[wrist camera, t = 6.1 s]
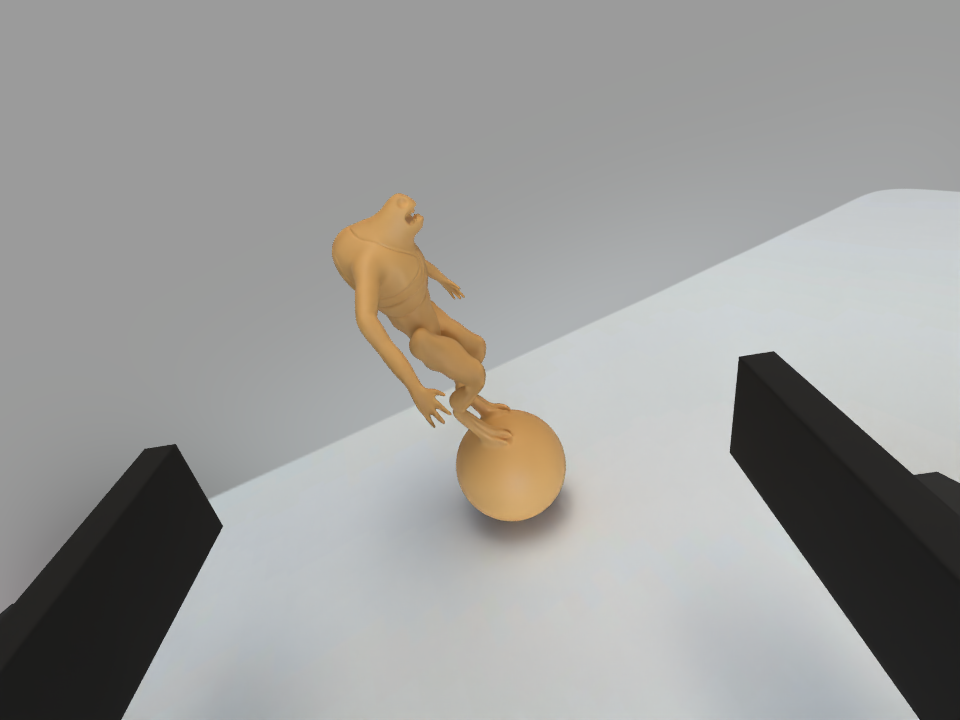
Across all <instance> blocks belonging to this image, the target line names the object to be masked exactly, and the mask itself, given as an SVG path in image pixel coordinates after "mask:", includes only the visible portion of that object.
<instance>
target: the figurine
mask: <svg viewBox="0 0 960 720" xmlns="http://www.w3.org/2000/svg"><path fill="white" fill-rule="evenodd" d="M415 206H416V203H415V201H414V200H412V199H411V198H410V197H408V196H406V195H404V194H401V193H398V194H395V195H393V196H392V197H391V198H390V199H389V200H388V201H387V202H386V203H385V205H384V206H383V208H382V209H381V210H380V211H379V212H378V213H376V214H375V215H374V216H372V217H370V218H367V219H364V220H362V221H360V222H357V223H355V224H353V225H350V226H348V227H346V228H344V229H343V230H342V231H341V232H340V233H339V234H338V235H337V237H336V238H335V240H334V242H333V246H332V257H333V261H334V264H335V266H336V268H337V270H338V272H339V273H340V275H341V276H342V278H343V279H344V280H345V281H346V282H347V283H348V284H349V285H350V286H351V287H352V288H353V289H354V290H355V313H356V321H357V324H358V327H359V329H360V331H361V332H362V334H363V335H364V337H365V338H366V339H367V341H368V342H369V343H370V344H371V345H372V346H373V348H374V349H375V350H376V351H377V352H378V354H379V355H380V356H381V358H382V359H383V361H384V362H385V363H386V364H387V366H388V367H389V368H390V369H391V370H392V372H393V373H394V374H395V375H396V376H397V378H399V380H401V382H402V383H403V384H404V385H405V386H406V388H407V389H408V391H409V393H410V395H411V397H412V399H413V401H414V403H415V404H416V406H417V408H418V409H419V411H420V412H421V413H422V414H423V415H424V417H425V418H426V420H427V421H428V422H429V423H430V424H431V425H432V426H433V427H434V428H435V425H434V423H433V421H432V420H431V417H430V415H433V416H434V417H435V418H436V419H437V420H438V421H440V422H441V423H443V424H445V421H444V420H443V418H442V417H441V416H440V415H439V414H438V412H437V411H436V409H440V410H441V411H443V412H445V413H446V414H448V415H451V413H450V412H449V411H448V410H447V409H446V408H445V407H444V406H443V405H442V404H441V403H440V402H439V401H437V400H436V399H435V396H436V395H440V396H445V394H444V393H443V392H441V391H439V390H436V389H428V388H425V387H423V385H422V384H421V383H420V381H419V380H418V378H417V376H416V374H415V372H414V370H413V368H412V367H411V365H410V363H409V362H408V360H407V359H406V357H405V356H404V355H403V353H402V352H401V351H400V350H399V349H398V348H397V347H396V346H395V344H394V343H393V342H392V341H391V339H390V338H389V336H388V334H387V333H386V331H385V329H384V328H383V326H382V324H381V323H380V321H379V320H378V318H377V313H378V310H379V311H381V312H382V313H384V314H385V315H387V316H388V318H389V320H390V321H391V322H392V324H393V326H394V327H396V328H397V329H398V330H400V331H402V332H403V333H405V334H406V335H407V336H408V337H409V338H410V342H409V348H410V351H411V353H412V354H413V356H414V357H416V358H417V359H419V360H421V361H422V362H423V363H424V364H425V365H426V367H428V368H429V369H431V370H433V371H438V372H440V373H442V374H444V375H446V376H447V377H448V378H450V379H452V380H454V382H455V384H456V386H455V389H456V390H455V391H454V392H453V393H452V395H451V396H450V399H449V402H450V406H451V407H452V408H453V414H454V416H455V418H456V419H457V420H458V421H460V422H461V423H462V424H463V425H464V426H466V427H467V428H468V429H469V430H468V431H467V432H466V434H465V435H464V437H463V439H462V441H461V443H460V446H459V449H458V453H457V459H456V471H457V477H458V481H459V484H460V487H461V489H462V491H463V493H464V495H465V496H466V498H467V499H468V500H469V501H470V503H471V504H472V505H473V506H474V507H475V508H477V509H478V510H479V511H481V512H482V513H484V514H485V515H487V516H489V517H492V518H494V519H498V520H502V521H521V520H525V519H529V518H531V517H534V516H536V515H538V514H539V513H541V512H542V511H544V510H545V509H546V508H547V507H549V506H550V505H551V503H552V502H553V501H554V500H555V498H556V497H557V495H558V494H559V492H560V490H561V488H562V485H563V482H564V478H565V471H566V461H565V454H564V450H563V447H562V445H561V442H560V440H559V438H558V437H557V435H556V434H555V432H554V431H553V430H552V428H551V427H550V426H549V425H548V424H547V423H545V422H544V421H543V420H542V419H540V418H538V417H537V416H535V415H533V414H530V413H528V412H524V411H520V410H510V408H509V407H508V406H507V405H504V404H500V403H497V404H494V403H490V402H488V401H487V400H485V399H484V398H482V397H481V396H479V395H478V393H479V392H480V391H481V389H482V388H483V387H484V384H485V378H486V374H485V369H484V367H483V365H482V364H481V363H482V361H483V359H484V358H485V354H486V344H485V341H484V340H483V338H481V337H480V336H479V335H476V334H474V333H472V332H471V331H469V330H468V329H466V328H465V327H464V326H463V325H461V324H460V323H458V322H457V321H455V320H453V319H451V318H450V317H449V316H448V315H447V314H446V313H445V312H444V311H443V310H441V309H440V308H439V307H438V306H436V304H435V303H434V302H433V301H431V300H430V295H429V291H428V288H427V286H428V276H429V277H430V278H433V279H435V280H437V281H438V282H439V283H440V284H441V285H443V287H444V288H445V289H446V290H447V291H448V292H449V294H450V295H451V296H452V297H453V298H454V299H455V297H454V296H453V293H454V294H455V295H456V296H457V297H458V298H459V299H461V297H460V295H461V296H462V297H465V296H464V295H463V294H462V293H461V292H460V290H459V289H460V287H458V286H457V285H456V284H455V283H453V282H452V281H451V280H449V279H448V278H446V277H445V276H444V275H443V274H442V273H441V272H440V271H439V270H438V269H437V268H436V267H435V266H434V265H432V264H431V263H430V262H428V261H426V260H425V258H424V256H423V254H422V252H421V251H420V249H419V248H418V246H417V245H416V244H415V243H414V237H415V235H416V234H417V233H418V232H419V230H420V229H421V228H422V226H423V220H424V218H423V216H421V215H420V214H416V215H415V214H414V216H413V217H412V216H411V215H410V214H411V212H412V213H414V211H415V210H414V207H415ZM452 292H453V293H452ZM459 294H460V295H459ZM470 405H471V406H472V407H473V408H474V409H475V410H476V411H477V412H478V413H479V414H480V415H481V419H479V418H477V417H476V416H474V415H473V414H472V413H470V412H469V411H467V410H466V409H467V408H468V407H469V406H470Z"/></svg>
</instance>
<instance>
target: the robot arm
mask: <svg viewBox="0 0 960 720" xmlns="http://www.w3.org/2000/svg"><path fill="white" fill-rule="evenodd" d="M730 453H731V455H732V456H733V458H734V459H735V460H736V462H737V463H738V465H739V466H740V467H741V469H742V470H743V472H744V473H745V474H746V476H747V477H748V479H749V480H750V481H751V483H752V484H753V486H754V487H755V489H756V490H757V491H758V493H759V494H760V496H761V497H762V498H763V500H764V501H765V503H766V504H767V505H768V507H769V508H770V510H771V511H772V512H773V514H774V515H775V517H776V518H777V519H778V521H779V522H780V524H781V525H782V527H783V528H784V529H785V531H786V532H787V534H788V535H789V536H790V538H791V539H792V541H793V542H794V543H795V545H796V546H797V548H798V549H799V550H800V552H801V553H802V555H803V556H804V557H805V559H806V560H807V562H808V563H809V565H810V566H811V567H812V569H813V570H814V572H815V573H816V574H817V576H818V577H819V579H820V580H821V581H822V583H823V584H824V586H825V587H826V588H827V590H828V591H829V593H830V594H831V595H832V597H833V598H834V600H835V601H836V603H837V604H838V605H839V607H840V608H841V610H842V611H843V612H844V614H845V615H846V617H847V618H848V619H849V621H850V622H851V624H852V625H853V626H854V628H855V629H856V631H857V632H858V633H859V635H860V636H861V638H862V639H863V640H864V642H865V643H866V645H867V646H868V648H869V649H870V650H871V652H872V653H873V655H874V656H875V657H876V659H877V660H878V662H879V663H880V664H881V666H882V667H883V669H884V670H885V671H886V673H887V674H888V676H889V677H890V678H891V680H892V681H893V683H894V684H895V686H896V687H897V688H898V690H899V691H900V693H901V694H902V695H903V697H904V698H905V700H906V701H907V702H908V704H909V705H910V707H911V708H912V709H913V711H914V712H915V714H916V715H917V716H918V718H919V719H920V720H960V483H958V482H956V481H954V480H952V479H950V478H948V477H947V476H945V475H943V474H941V473H939V472H932V473H925V474H918V475H913V474H912V473H911V472H910V471H908V470H907V469H906V468H905V467H904V466H903V465H902V464H900V463H899V462H898V461H897V460H896V459H895V458H894V457H893V456H891V455H890V454H889V453H888V452H887V451H886V450H885V449H884V448H882V447H881V446H880V445H879V444H878V443H877V442H876V441H875V440H873V439H872V438H871V437H870V436H869V435H868V434H867V433H865V432H864V431H863V430H862V429H861V428H860V427H859V426H858V425H856V424H855V423H854V422H853V421H852V420H851V419H850V418H849V417H847V416H846V415H845V414H844V413H843V412H842V411H841V410H840V409H838V408H837V407H836V406H835V405H834V404H833V403H832V402H831V401H829V400H828V399H827V398H826V397H825V396H824V395H823V394H821V393H820V392H819V391H818V390H817V389H816V388H815V387H814V386H812V385H811V384H810V383H809V382H808V381H807V380H806V379H805V378H803V377H802V376H801V375H800V374H799V373H798V372H797V371H796V370H794V369H793V368H792V367H791V366H790V365H789V364H788V363H786V362H785V361H784V360H783V359H782V358H781V357H780V356H779V355H777V354H776V353H775V352H774V351H773V352H767V353H760V354H754V355H747V356H741V357H739V362H738V372H737V383H736V393H735V404H734V414H733V424H732V435H731V445H730ZM222 527H223V525H222V524H221V522H220V520H219V518H218V517H217V515H216V513H215V511H214V510H213V508H212V506H211V504H210V503H209V501H208V499H207V498H206V496H205V494H204V493H203V491H202V489H201V487H200V486H199V484H198V482H197V480H196V478H195V477H194V475H193V473H192V472H191V470H190V468H189V466H188V465H187V463H186V461H185V459H184V458H183V456H182V454H181V452H180V451H179V449H178V447H177V445H176V444H173V445H167V446H160V447H154V448H148V449H144V451H143V452H142V453H141V454H140V455H139V456H138V458H137V459H136V460H135V461H134V462H133V464H132V465H131V466H130V467H129V468H128V469H127V471H126V472H125V473H124V474H123V476H122V477H121V478H120V479H119V480H118V481H117V483H116V484H115V485H114V486H113V487H112V488H111V490H110V491H109V492H108V493H107V494H106V496H105V497H104V498H103V499H102V500H101V501H100V503H99V504H98V505H97V507H95V509H94V510H93V511H92V512H91V513H90V515H89V516H88V517H87V518H86V519H85V520H84V522H83V523H82V524H81V525H80V526H79V528H78V529H77V530H76V531H75V532H74V534H73V535H72V536H71V537H70V538H69V539H68V541H67V542H66V543H65V544H64V545H63V546H62V548H61V549H60V550H59V551H58V552H57V554H56V555H55V556H54V557H53V558H52V560H51V561H50V562H49V563H48V564H47V565H46V567H45V568H44V569H43V570H42V571H41V573H40V574H39V575H38V576H37V577H36V579H35V580H34V581H33V582H32V583H31V584H30V586H29V587H28V588H27V589H26V590H25V592H24V593H23V594H22V595H21V596H20V598H19V599H18V600H17V601H16V602H15V603H14V604H11V605H10V606H9V607H8V608H7V609H6V610H4V611H3V612H2V613H1V614H0V720H121V719H122V717H123V715H124V713H125V712H126V710H127V708H128V706H129V704H130V702H131V700H132V698H133V696H134V694H135V693H136V691H137V689H138V687H139V685H140V683H141V681H142V679H143V677H144V675H145V674H146V672H147V670H148V668H149V666H150V664H151V662H152V660H153V658H154V656H155V655H156V653H157V651H158V649H159V647H160V645H161V643H162V641H163V639H164V637H165V636H166V634H167V632H168V630H169V628H170V626H171V624H172V622H173V620H174V618H175V617H176V615H177V613H178V611H179V609H180V607H181V605H182V603H183V601H184V599H185V598H186V596H187V594H188V592H189V590H190V588H191V586H192V584H193V582H194V580H195V579H196V577H197V575H198V573H199V571H200V569H201V567H202V565H203V563H204V561H205V560H206V558H207V556H208V554H209V552H210V550H211V548H212V546H213V544H214V542H215V541H216V539H217V537H218V535H219V533H220V531H221V529H222Z"/></svg>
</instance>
